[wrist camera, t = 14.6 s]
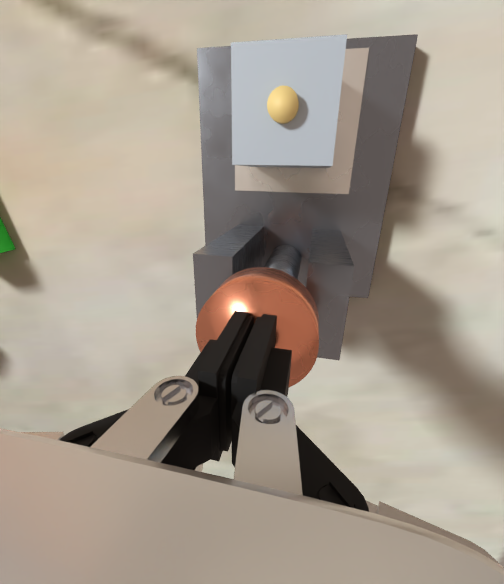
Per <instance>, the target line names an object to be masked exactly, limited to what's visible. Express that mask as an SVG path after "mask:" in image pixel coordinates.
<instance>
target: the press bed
mask: <svg viewBox="0 0 504 584" xmlns="http://www.w3.org/2000/svg"><path fill="white" fill-rule="evenodd" d="M417 36H418V34H417V35H401V36H385V37H369V38H353V39H347V41H346V49H345V58H344V67H343V76H342V85H341V94H340V103H339V112H338V121H337V130H336V139H335V148H334V157H333V166H331V167H329V168H288V167H250V166H240V165H232V90H231V46H225V47H209V48H197V57H198V80H199V103H200V127H201V150H202V173H203V196H204V220H205V243H206V246H204V247H203V248H201V249H200V250H198V251H197V252H195V253H193V261H194V278H195V294H196V311H197V319H198V315H199V313H200V311H201V309H202V307H203V306H204V304H205V303H206V301H207V300H208V299H209V298H210V297H211V296H212V295H213V293H214V292H215V291H216V290H217V289H218V288H219V287H220V285H221V284H222V283H223V282H224V281H225V280H226V279H227V278H229V277H230V276H231V275H233V274H235V273H236V272H239V271H241V270H244V269H248V268H254V267H264V265H265V264H266V262H267V260H268V259H269V257H270V255H271V254H272V252H273V250H274V249H275V248H277V247H279V246H281V245H290V246H292V247H294V248H295V249H297V250H298V252H299V253H300V256H301V265H300V270H299V275H298V280H299V281H300V282H301V283H302V284H303V285H304V286H305V287H306V288H307V289H308V291H309V292H310V294H311V295H312V297H313V299H314V301H315V303H316V306H317V310H318V316H319V350H318V355H317V357H319V358H326V359H334V360H339V359H340V352H341V346H342V340H343V334H344V328H345V321H346V315H347V309H348V303H349V297H350V296H351V297H361V298H368V296H369V290H370V285H371V280H372V275H373V269H374V264H375V259H376V253H377V248H378V243H379V238H380V232H381V227H382V222H383V216H384V211H385V206H386V200H387V195H388V190H389V185H390V179H391V174H392V169H393V163H394V158H395V153H396V147H397V142H398V137H399V132H400V126H401V121H402V116H403V110H404V105H405V100H406V94H407V89H408V84H409V79H410V73H411V68H412V63H413V57H414V52H415V47H416V42H417Z"/></svg>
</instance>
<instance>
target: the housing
mask: <svg viewBox="0 0 504 584" xmlns="http://www.w3.org/2000/svg"><path fill="white" fill-rule="evenodd" d="M346 41H347V35H334V36H319V37H305V38H291V39H276V40H262V41H248V42H233V43H231V90H232V165H240V166H250V167H288V168H329V167H331V166H333V157H334V148H335V139H336V130H337V121H338V112H339V103H340V94H341V85H342V76H343V67H344V58H345V49H346Z"/></svg>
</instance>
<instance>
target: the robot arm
mask: <svg viewBox="0 0 504 584" xmlns="http://www.w3.org/2000/svg"><path fill="white" fill-rule="evenodd" d="M276 326H277V315H268V314H263V315H262V317H257V318H256V321H255V323H254V317H253V316H250V315H249V312H242V311H235V312H234V313H233V315H232V316H231V318H230V320H229V321H228V323H227V324H226V326H225V328H224V329H223V331H222V332H221V334H220V336H219V337H218V339H217V340H213V339H211V340H209V341H208V343H207V344H206V346H205V347H204V349H203V350H202V352H201V353H200V355H199V356H198V358H197V359H196V361H195V362H194V364H193V365H192V367H191V368H190V370H189V371H188V373H187V374H186V376H172V377H168V378H165V379H163V380H161V381H159V382H158V383H156V384H155V385H154V386H153V387H152V388H151V389H150V390H148V391H147V392H146V393H145V394H144V395H143V396H142V397H141V398H140V399H139V400H138V401H137V402H136V403H135V404H134V405H133V406H132V407H131V408H130V409H128V410H125V411H123V412H120V413H117V414H115V415H112V416H109V417H107V418H104V419H101V420H99V421H96V422H93V423H91V424H88V425H85V426H83V427H80V428H78V429H76V430H73V431H71V432H69V433H68V434H66V435H65V436H64V433H63V432H16V431H11V430H6V429H1V428H0V584H504V567H503V566H501V565H500V564H499V563H498V562H497V561H496V560H495V559H494V558H493V557H492V556H491V555H490V554H489V553H488V552H486V551H485V550H484V549H483V548H481V547H479V546H478V545H476V544H474V543H473V542H471V541H469V540H467V539H464V538H462V537H460V536H458V535H455V534H453V533H451V532H448V531H446V530H444V529H442V528H439V527H437V526H435V525H432V524H430V523H428V522H426V521H423V520H421V519H419V518H416V517H414V516H412V515H410V514H407V513H405V512H403V511H401V510H398V509H396V508H394V507H391V506H389V505H387V504H385V503H382V502H380V501H379V504H378V506H377V505H375V504H373V503H370V502H368V501H366V500H365V498H364V496H363V495H362V494H361V493H360V491H359V490H358V489H357V487H356V486H355V485H354V484H353V483H352V482H351V481H350V480H349V479H348V478H347V477H346V476H345V475H344V474H343V473H342V472H341V471H340V470H339V469H338V468H337V467H336V466H335V465H334V464H333V463H332V462H331V461H330V460H329V459H328V457H327V456H326V455H325V454H324V453H323V452H322V451H321V450H320V449H319V448H318V447H317V446H316V445H315V444H314V443H313V442H312V441H311V440H310V439H309V438H308V437H307V436H306V435H305V434H304V433H303V432H302V431H301V430H300V429H299V428H298V427H297V425H296V422H295V412H294V407H293V404H292V402H291V401H290V400H289V398H287V395H288V388H289V379H290V370H291V358H292V350H287V349H280V348H275V343H276ZM231 441H232V464H233V465H234V467H235V472H234V479H229V478H225V477H221V476H216V475H212V474H207V473H203V472H202V469H203V463H205V462H206V461H208V460H210V459H211V460H216V461H219V460H220V457H221V454H222V451H228V450H229V447H230V444H231Z"/></svg>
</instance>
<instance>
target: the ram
mask: <svg viewBox="0 0 504 584" xmlns="http://www.w3.org/2000/svg"><path fill="white" fill-rule="evenodd" d="M300 265H301V256H300V253H299V252H298V250H297V249H295V248H294V247H292V246H290V245H281V246H279V247H277V248H275V249H274V250H273V252H272V254H271V255H270V257H269V259H268V260H267V262H266V264H265V265H264V267H254V268H248V269H244V270H241V271H239V272H236V273H235V274H233V275H231V276H230V277H229V278H227V279H226V280H225V281H224V282H223V283H222V284H221V285H220V287H219V288H218V289H217V290H216V291H215V292H214V293H213V295H212V296H211V297H210V298H209V299H208V300H207V301H206V303H205V304H204V306H203V307H202V309H201V311H200V313H199V315H198V319H197V323H196V339H197V343H198V347H199V350H200V352H202V350H203V349H204V347H205V346H206V344H207V343H208V341H209V340H211V339H213V340H217V339H218V337H219V336H220V334H221V332H222V331H223V329H224V328H225V326H226V324H227V323H228V321H229V320H230V318H231V316H232V315H233V313H234V312H235V311H242V312H249V315H250V316H253V317H254V323H255V321H256V318H257V317H262V315H263V314H268V315H277V326H276V343H275V348H280V349H287V350H292V358H291V370H290V379H289V387H291V386H293V385H295V384H296V383H298V382H299V381H301V380H302V379H303V378H304V377H305V376H306V375H307V374H308V373H309V372H310V370H311V369H312V367H313V365H314V364H315V361H316V358H317V355H318V350H319V316H318V310H317V306H316V303H315V301H314V299H313V297H312V295H311V294H310V292H309V291H308V289H307V288H306V287H305V286H304V285H303V284H302V283H301V282H300V281H299V280H298V275H299V270H300Z"/></svg>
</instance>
